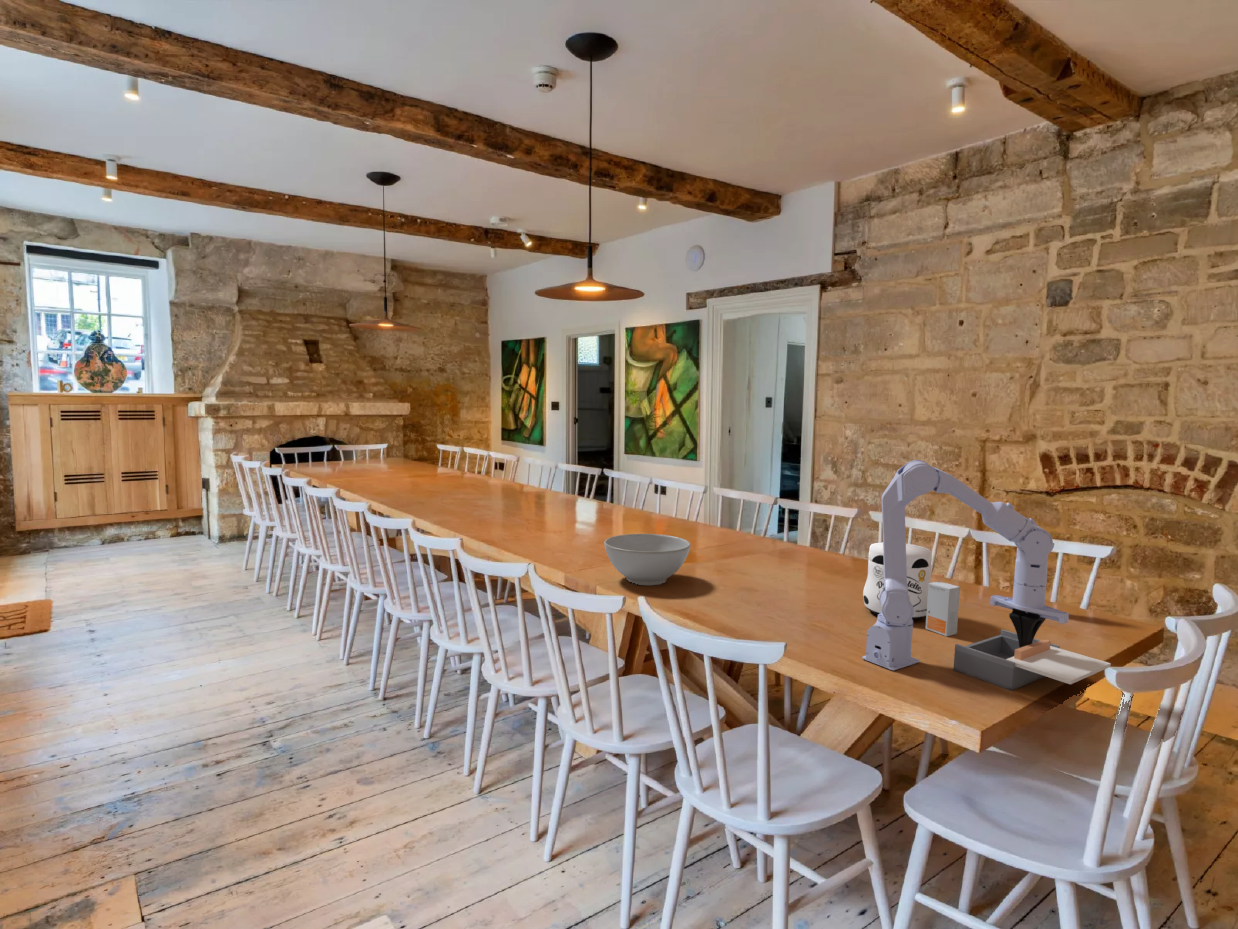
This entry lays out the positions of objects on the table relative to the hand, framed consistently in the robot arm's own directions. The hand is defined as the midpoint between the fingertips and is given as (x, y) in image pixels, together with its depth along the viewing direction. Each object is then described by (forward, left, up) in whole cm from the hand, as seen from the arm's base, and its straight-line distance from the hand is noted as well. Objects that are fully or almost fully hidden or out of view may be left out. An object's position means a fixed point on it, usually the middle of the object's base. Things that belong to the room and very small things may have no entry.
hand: (1025, 647), depth 141 cm
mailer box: (0, +4, -6) cm, 7 cm away
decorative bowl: (-25, +101, -6) cm, 104 cm away
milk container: (+14, +40, -6) cm, 42 cm away
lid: (0, -6, -1) cm, 6 cm away
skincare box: (+11, +25, -6) cm, 28 cm away
